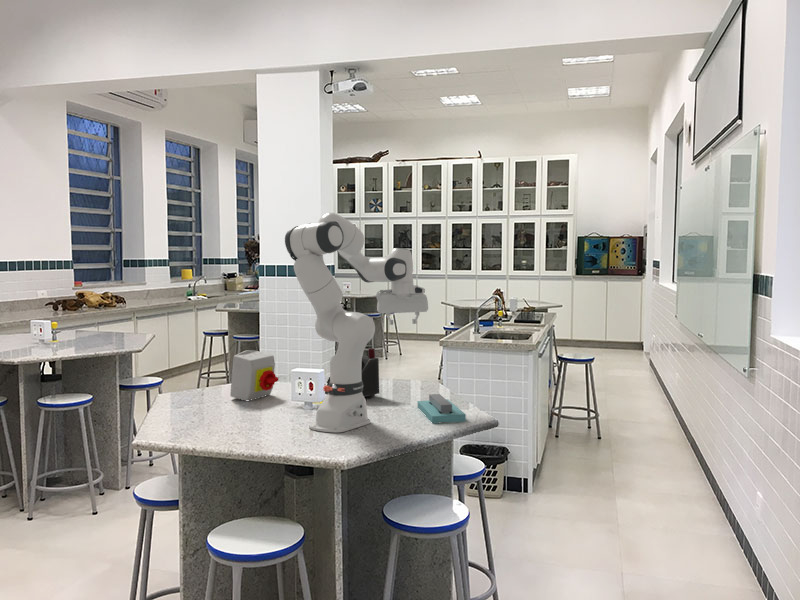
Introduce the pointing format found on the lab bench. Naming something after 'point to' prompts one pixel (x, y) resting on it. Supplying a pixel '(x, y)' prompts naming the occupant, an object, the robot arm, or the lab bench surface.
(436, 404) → the pin bar
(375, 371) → the voltmeter
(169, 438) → the lab bench surface
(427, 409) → the mounting plate
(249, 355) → the electrical switch box
